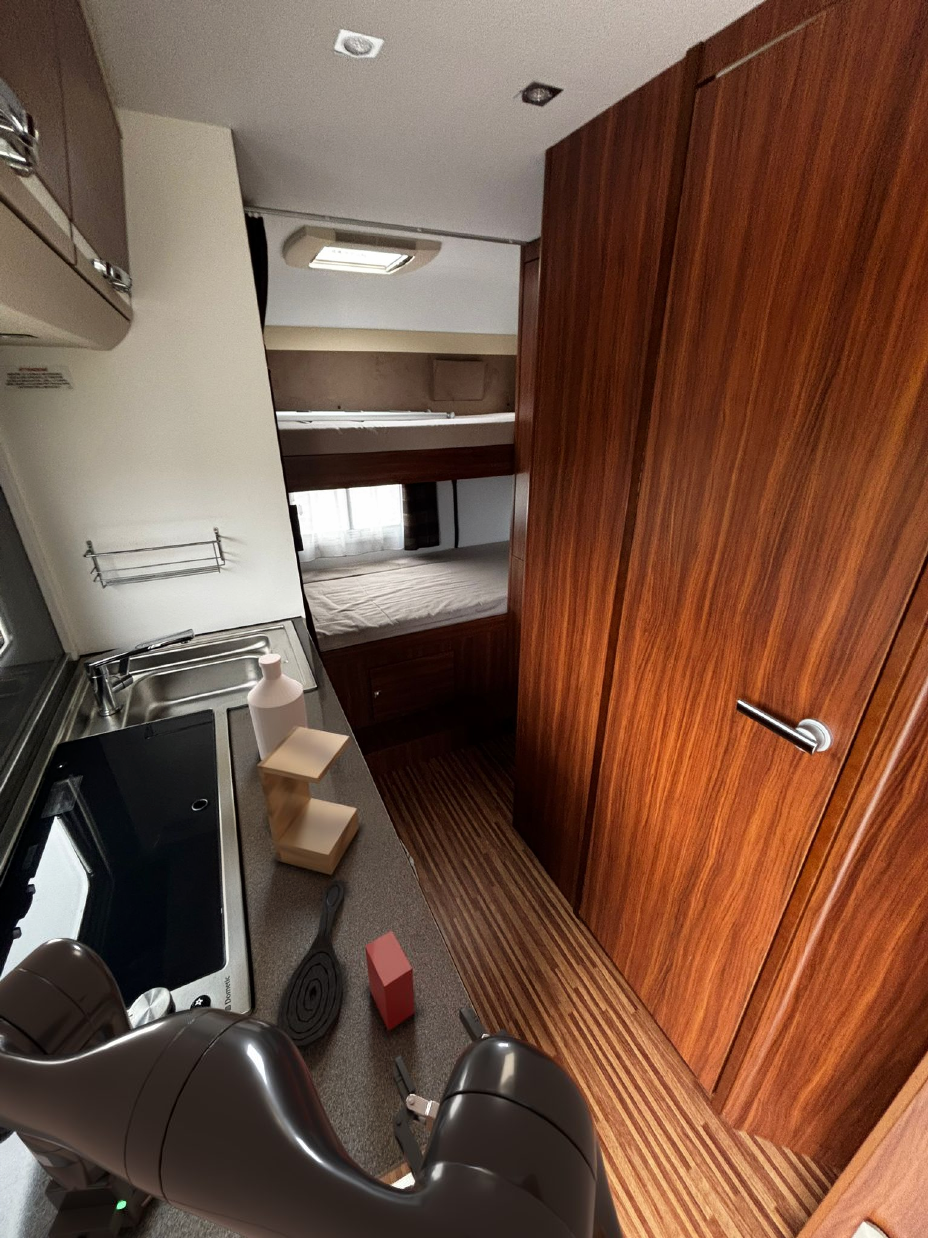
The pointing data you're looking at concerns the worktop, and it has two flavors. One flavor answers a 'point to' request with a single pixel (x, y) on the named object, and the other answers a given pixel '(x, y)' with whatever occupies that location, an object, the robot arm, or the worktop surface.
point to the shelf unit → (305, 800)
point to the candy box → (390, 979)
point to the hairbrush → (315, 982)
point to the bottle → (275, 705)
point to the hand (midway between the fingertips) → (430, 1035)
